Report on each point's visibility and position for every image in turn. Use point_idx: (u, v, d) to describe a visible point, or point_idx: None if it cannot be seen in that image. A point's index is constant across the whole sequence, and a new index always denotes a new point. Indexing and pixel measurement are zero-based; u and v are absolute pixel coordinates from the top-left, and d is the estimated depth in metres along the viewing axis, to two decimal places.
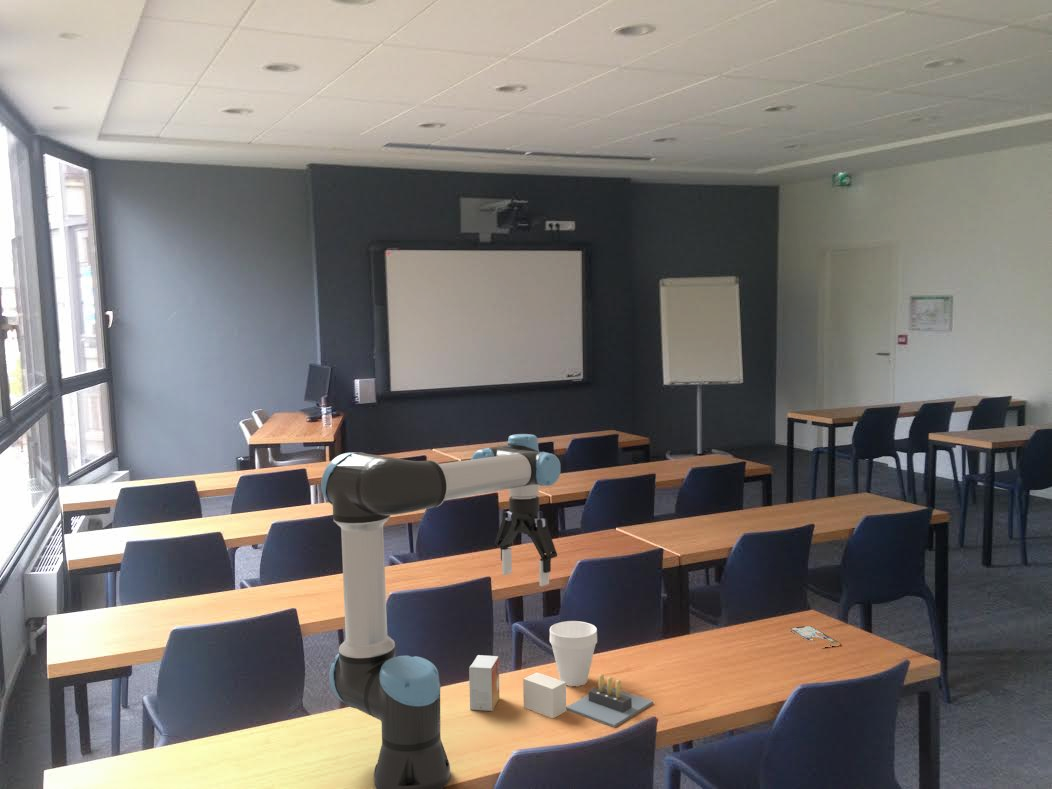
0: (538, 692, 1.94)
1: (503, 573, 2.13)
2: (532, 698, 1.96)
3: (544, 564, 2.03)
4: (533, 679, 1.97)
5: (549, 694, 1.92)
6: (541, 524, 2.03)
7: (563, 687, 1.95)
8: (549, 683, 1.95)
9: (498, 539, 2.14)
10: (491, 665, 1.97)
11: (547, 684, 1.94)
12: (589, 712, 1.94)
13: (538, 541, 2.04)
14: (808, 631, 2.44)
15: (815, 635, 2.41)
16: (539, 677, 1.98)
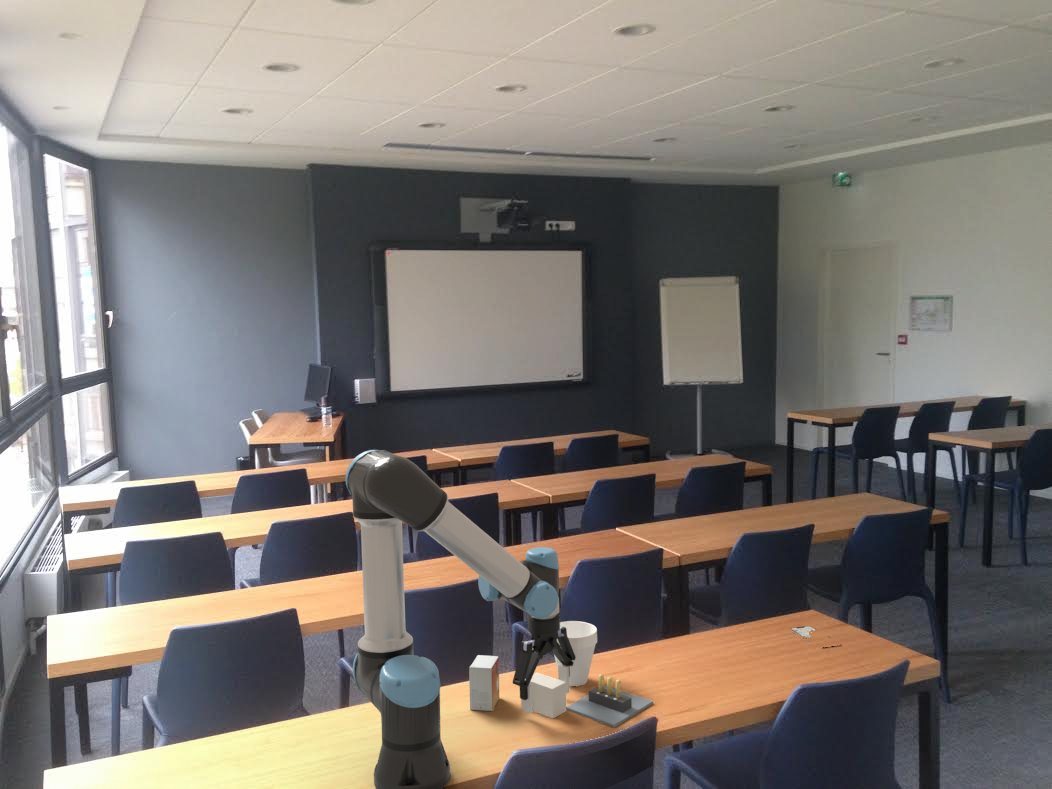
0: (538, 692, 1.94)
1: None
2: (532, 698, 1.96)
3: None
4: (533, 679, 1.97)
5: (549, 694, 1.92)
6: (522, 646, 1.91)
7: (563, 687, 1.95)
8: (549, 683, 1.95)
9: None
10: (491, 665, 1.97)
11: (547, 684, 1.94)
12: (589, 712, 1.94)
13: None
14: (808, 631, 2.44)
15: None
16: (539, 677, 1.98)
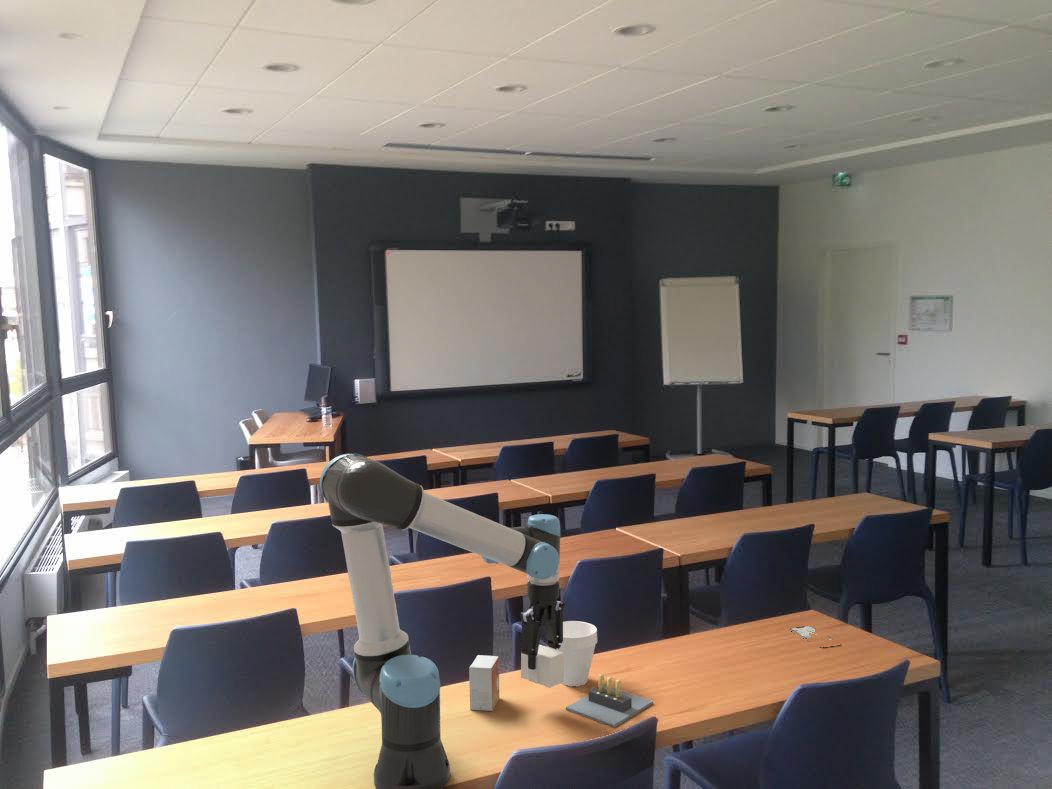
0: None
1: None
2: None
3: None
4: None
5: (546, 664, 1.92)
6: (522, 618, 1.91)
7: (561, 657, 1.94)
8: (547, 653, 1.94)
9: None
10: (491, 665, 1.97)
11: (545, 653, 1.94)
12: (589, 712, 1.94)
13: None
14: (808, 631, 2.44)
15: None
16: None
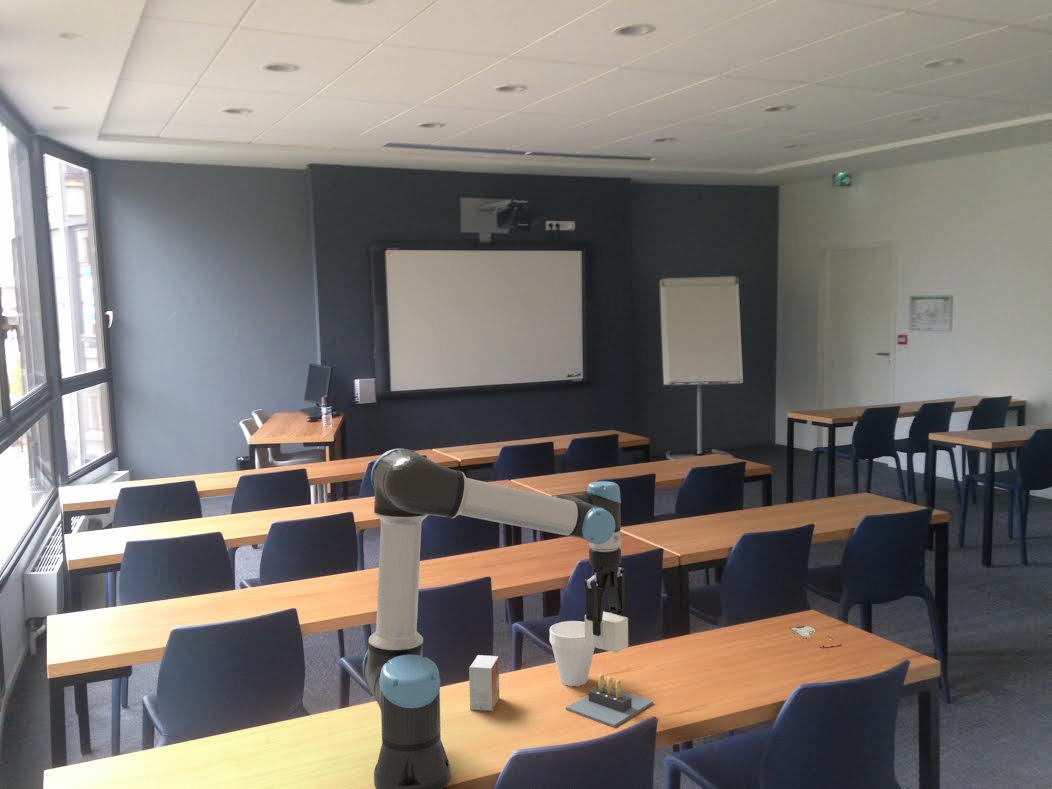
0: None
1: None
2: None
3: None
4: None
5: (612, 629, 1.92)
6: (586, 585, 1.91)
7: (625, 622, 1.95)
8: (611, 618, 1.95)
9: None
10: (491, 665, 1.97)
11: (610, 619, 1.94)
12: (589, 712, 1.94)
13: None
14: (808, 631, 2.44)
15: None
16: None
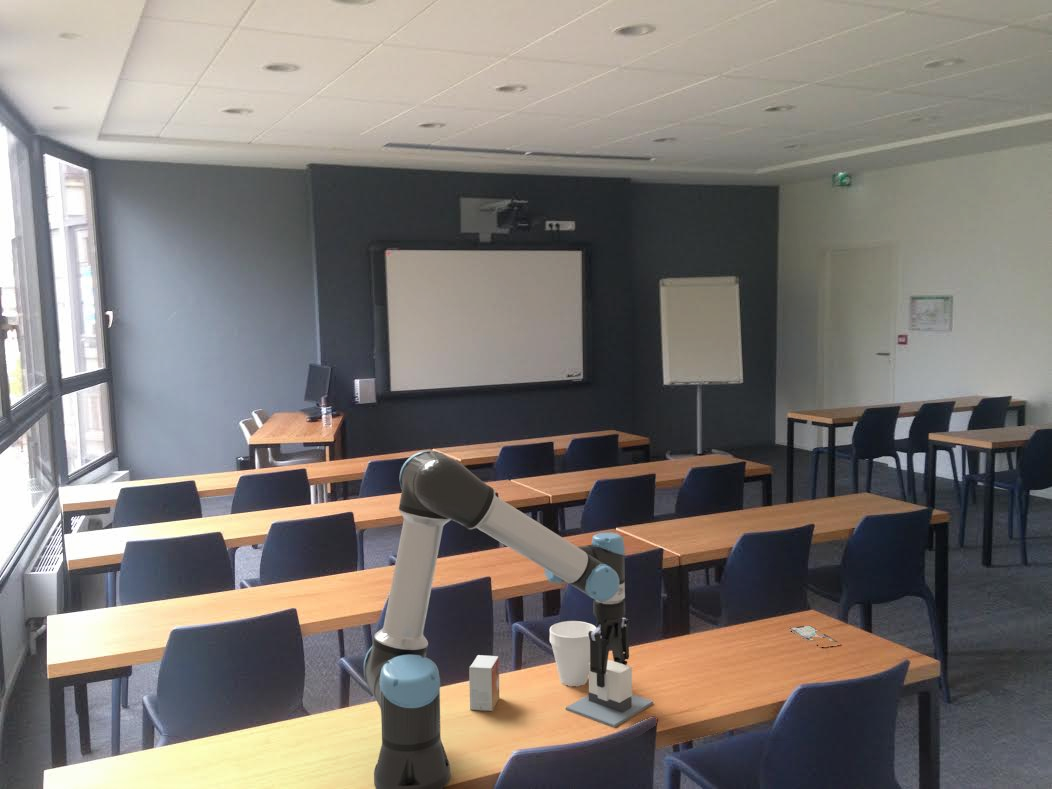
0: None
1: None
2: None
3: None
4: None
5: (616, 679, 1.93)
6: (590, 637, 1.92)
7: (629, 672, 1.95)
8: (615, 668, 1.95)
9: None
10: (491, 665, 1.97)
11: (614, 668, 1.95)
12: (589, 712, 1.94)
13: None
14: (808, 631, 2.44)
15: (815, 635, 2.41)
16: None
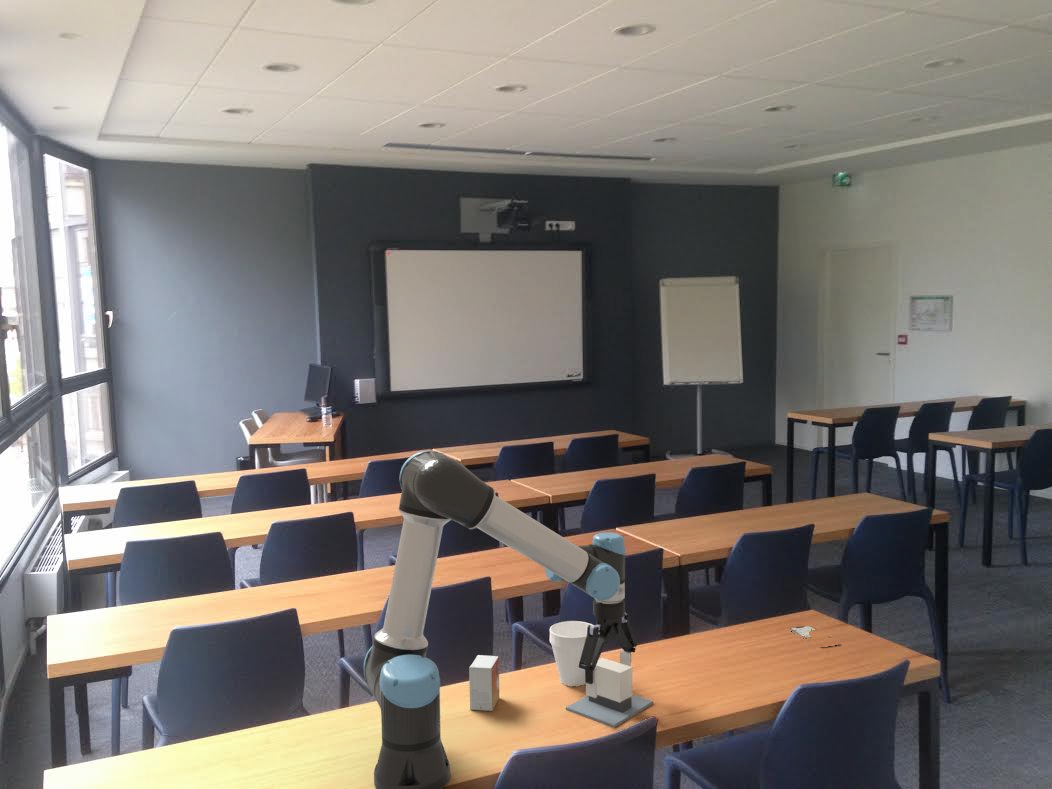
0: (605, 676, 1.95)
1: None
2: (598, 682, 1.97)
3: None
4: (600, 664, 1.98)
5: (616, 678, 1.93)
6: (588, 630, 1.92)
7: (630, 672, 1.96)
8: (616, 667, 1.96)
9: None
10: (491, 665, 1.97)
11: (614, 668, 1.95)
12: (589, 712, 1.94)
13: None
14: (807, 631, 2.44)
15: None
16: (605, 662, 1.99)
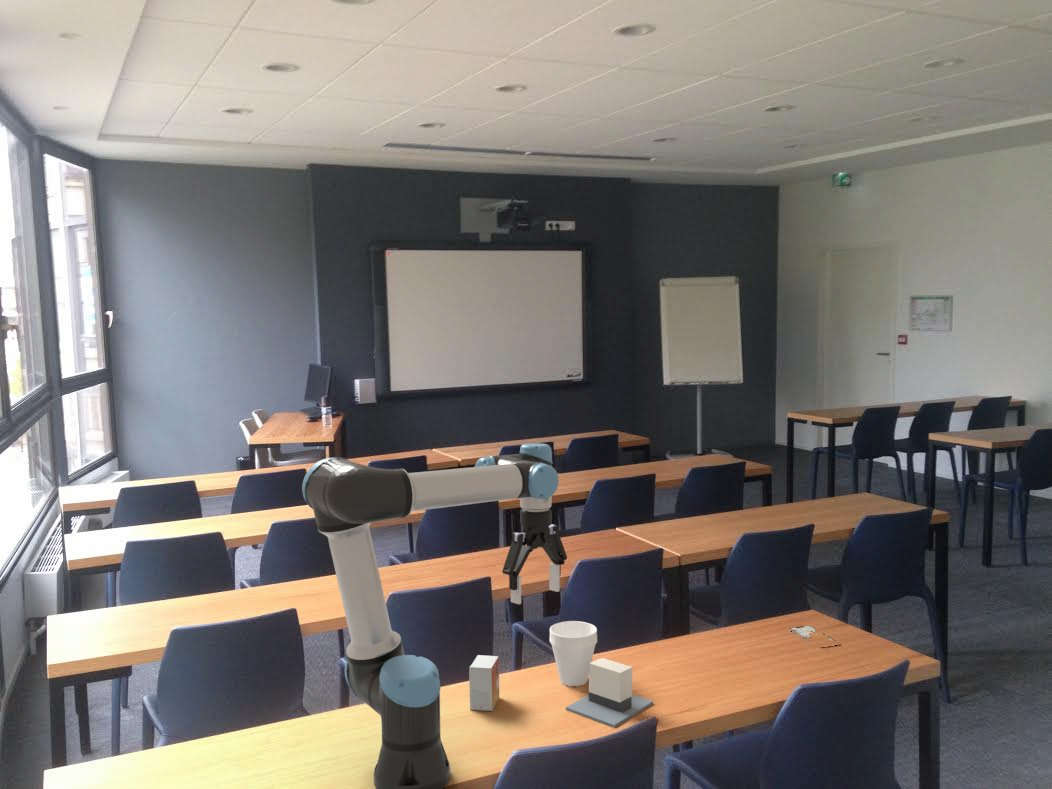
0: (605, 676, 1.95)
1: None
2: (598, 682, 1.97)
3: None
4: (600, 664, 1.98)
5: (616, 678, 1.93)
6: (513, 537, 1.93)
7: (630, 672, 1.96)
8: (616, 667, 1.96)
9: None
10: (491, 665, 1.97)
11: (614, 668, 1.95)
12: (589, 712, 1.94)
13: None
14: (807, 631, 2.44)
15: None
16: (605, 662, 1.99)
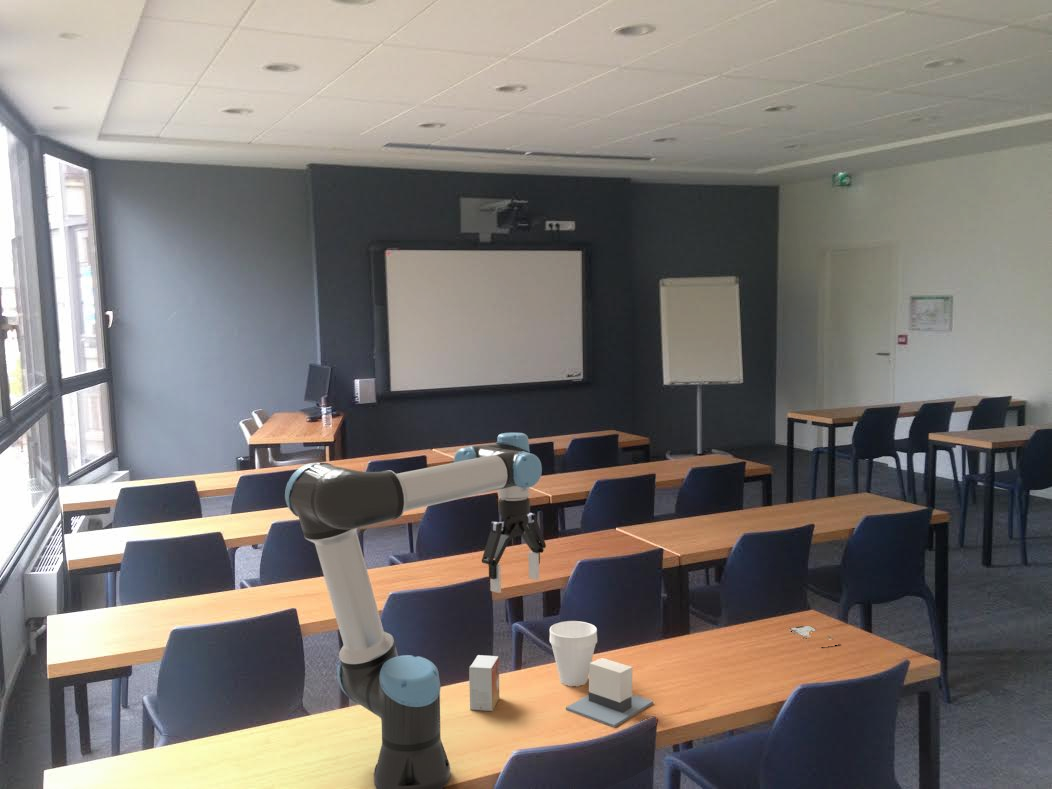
0: (605, 676, 1.95)
1: None
2: (598, 682, 1.97)
3: None
4: (600, 664, 1.98)
5: (616, 678, 1.93)
6: (491, 527, 1.94)
7: (630, 672, 1.96)
8: (616, 667, 1.96)
9: None
10: (491, 665, 1.97)
11: (614, 668, 1.95)
12: (589, 712, 1.94)
13: None
14: (807, 631, 2.44)
15: None
16: (605, 662, 1.99)
